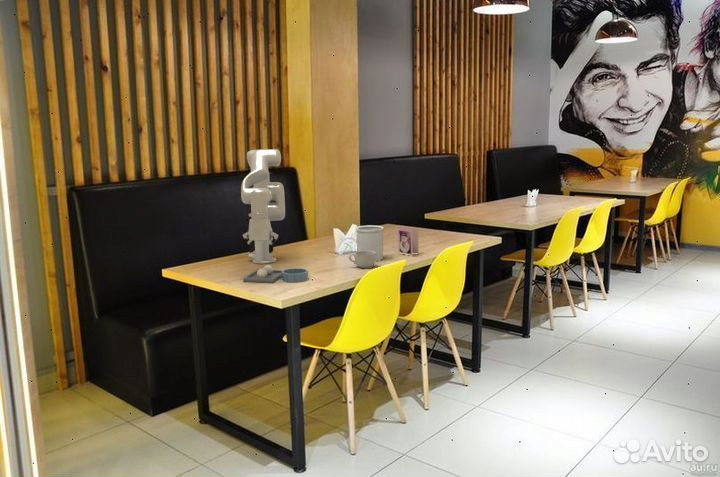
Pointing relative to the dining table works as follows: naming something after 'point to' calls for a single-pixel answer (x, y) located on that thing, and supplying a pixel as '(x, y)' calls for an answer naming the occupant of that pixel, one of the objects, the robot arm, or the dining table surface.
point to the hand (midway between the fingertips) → (261, 252)
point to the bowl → (295, 275)
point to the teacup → (364, 258)
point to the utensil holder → (370, 239)
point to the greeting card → (408, 240)
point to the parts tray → (268, 279)
